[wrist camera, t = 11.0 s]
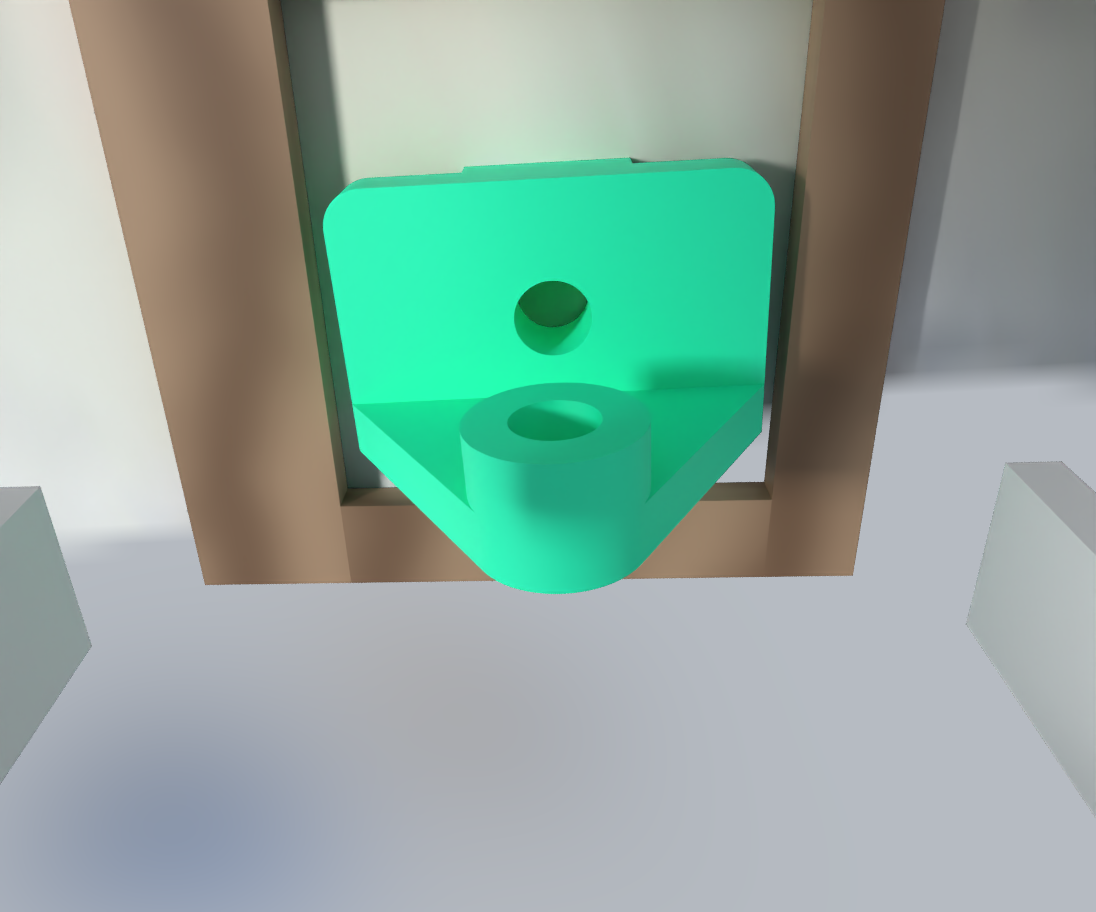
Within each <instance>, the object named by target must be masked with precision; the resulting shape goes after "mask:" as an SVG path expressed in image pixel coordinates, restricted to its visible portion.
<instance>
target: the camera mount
mask: <svg viewBox="0 0 1096 912" xmlns="http://www.w3.org/2000/svg"><path fill="white" fill-rule="evenodd" d="M774 216H775V199H774V195H773V192H772V190H771V187H770V186H769V184H768V183H767V181H766V180H765V179H764V178H763V177H762V176H761V175H760V174H758V173H757V172H756V171H755V170H754V169H753V168H752V167H750V166H749V165H748V164H746V163H745V162H743V161H740V160H738V159H733V158H717V159H699V160H681V161H663V162H645V163H632V161H631V159H630V158H614V159H596V160H578V161H560V162H542V163H524V164H506V165H488V166H470V167H464V169H463V171H462V173H447V174H429V175H411V176H393V177H375V178H364V179H360V180H357V181H355V182H353V183H351V184H349V185H348V186H347V187H346V188H345V189H344V190H343V191H342V192H341V193H340V194H339V195H338V196H337V197H336V198H335V199H334V200H333V201H332V202H331V203H330V204H329V206H328V208H327V210H326V212H325V215H324V219H323V233H324V239H325V245H326V251H327V257H328V263H329V268H330V274H331V280H332V286H333V292H334V298H335V304H336V310H337V316H338V322H339V328H340V334H341V340H342V346H343V352H344V358H345V364H346V370H347V376H348V382H349V388H350V394H351V400H352V406H353V412H354V418H355V424H356V430H357V436H358V442H359V448H360V451H361V452H362V453H363V454H364V455H365V456H366V457H367V458H368V459H369V460H370V461H371V462H372V463H373V464H374V465H375V466H376V467H377V468H378V469H379V470H380V471H381V472H382V473H383V474H384V475H385V476H386V477H387V478H388V479H389V480H390V481H391V482H392V483H394V484H395V485H396V486H397V487H398V488H399V489H400V490H401V491H402V492H403V493H404V494H405V495H406V496H407V497H408V498H409V499H410V500H411V501H412V502H413V503H414V504H415V505H416V506H417V507H418V508H419V509H420V510H421V511H422V512H423V513H424V514H425V515H426V516H427V517H428V518H429V519H430V520H431V521H432V522H433V523H434V524H435V525H437V526H438V527H439V528H440V529H441V530H442V531H443V532H444V533H445V534H446V535H447V536H448V537H449V538H450V539H451V540H452V541H453V542H454V543H455V544H456V545H457V546H458V547H459V548H460V549H461V550H462V551H463V552H464V553H465V554H466V555H467V556H468V557H469V558H470V559H471V560H472V561H473V562H474V563H475V564H476V565H477V566H478V567H480V568H481V569H482V570H483V571H484V572H485V573H486V574H487V575H488V576H490V577H491V578H493V579H495V580H496V581H498V582H500V583H502V584H504V585H507V586H510V587H512V588H516V589H520V590H524V591H529V592H535V593H545V594H566V593H577V592H583V591H589V590H593V589H597V588H601V587H604V586H607V585H609V584H612V583H614V582H616V581H619V580H621V579H623V578H624V577H626V576H628V575H629V574H631V573H632V572H634V571H635V570H636V569H637V568H638V567H639V566H640V565H641V564H642V563H643V562H644V561H645V560H646V559H647V558H648V557H649V556H650V554H651V553H652V552H653V551H654V550H655V549H656V548H657V547H658V546H659V544H660V543H661V542H662V541H663V540H664V539H665V538H666V537H667V536H668V535H669V533H670V532H671V531H672V530H673V529H674V528H675V527H676V526H677V525H678V523H679V522H680V521H681V520H682V519H683V518H684V517H685V516H686V515H687V514H688V512H689V511H690V510H691V509H692V508H693V507H694V506H695V505H696V504H697V502H698V501H699V500H700V499H701V498H702V497H703V496H704V495H705V494H706V493H707V491H708V490H709V489H710V488H711V487H712V486H713V485H714V484H715V483H716V481H717V480H718V479H719V478H720V477H721V476H722V475H723V474H724V473H725V472H726V470H727V469H728V468H729V467H730V466H731V465H732V464H733V463H734V461H735V460H736V459H737V458H738V457H739V456H740V455H741V454H742V453H743V452H744V451H745V449H746V448H747V447H748V446H749V445H750V444H751V443H752V442H753V441H754V439H755V438H756V437H757V436H758V435H759V434H760V433H761V432H762V416H763V400H764V383H765V366H766V349H767V333H768V316H769V299H770V283H771V266H772V249H773V232H774ZM545 281H561V282H565V283H568V284H570V285H572V286H574V287H575V288H577V289H578V290H579V291H581V293H582V294H583V295H584V296H585V297H586V299H587V304H586V307H585V309H584V310H583V312H582V313H581V314H580V316H579V317H578V318H576V319H575V320H574V321H572V322H571V323H569V324H566V325H564V326H560V327H546V326H542V325H539V324H537V323H535V322H533V321H532V320H530V319H529V318H528V317H527V316H526V315H525V314H524V312H523V311H522V309H521V308H520V305H519V303H518V301H519V299H520V297H521V296H522V295H523V294H524V293H525V292H526V291H527V290H528V289H529V288H531V287H532V286H534V285H536V284H538V283H541V282H545Z"/></svg>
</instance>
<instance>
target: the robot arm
mask: <svg viewBox="0 0 1096 912" xmlns="http://www.w3.org/2000/svg"><path fill="white" fill-rule="evenodd" d="M966 625H967V626H968V628H969V630H970V631H971V633H972V634H973V635H974V637H975V638H976V640H977V641H978V643H979V644H980V646H981V647H982V649H983V650H984V652H985V653H986V655H987V656H988V658H989V659H990V661H991V662H992V664H993V665H994V667H995V668H996V670H997V671H998V673H999V674H1000V676H1001V677H1002V679H1003V680H1004V682H1005V683H1006V685H1007V686H1008V688H1009V689H1010V691H1011V692H1012V694H1013V695H1014V697H1015V698H1016V700H1017V701H1018V703H1019V704H1020V706H1021V707H1022V709H1023V710H1024V712H1025V713H1026V715H1027V716H1028V718H1029V719H1030V721H1031V722H1032V724H1033V725H1034V727H1035V728H1036V730H1037V731H1038V733H1039V734H1040V736H1041V737H1042V739H1043V740H1044V742H1045V743H1046V745H1047V746H1048V748H1049V749H1050V750H1051V752H1052V753H1053V755H1054V756H1055V757H1056V759H1057V761H1058V762H1059V764H1060V765H1061V767H1062V768H1063V770H1064V771H1065V773H1066V774H1067V776H1068V777H1069V779H1070V780H1071V782H1072V783H1073V785H1074V786H1075V788H1076V789H1077V791H1078V792H1079V794H1080V795H1081V797H1082V798H1083V800H1084V801H1085V803H1086V804H1087V806H1088V807H1089V809H1090V810H1091V812H1092V813H1093V815H1094V816H1095V818H1096V492H1094V491H1093V490H1092V489H1091V488H1090V487H1089V486H1088V485H1087V484H1086V483H1084V481H1082V480H1081V479H1080V478H1079V477H1078V476H1077V475H1076V474H1075V473H1074V472H1073V471H1072V470H1070V469H1069V468H1068V467H1067V466H1066V465H1065V464H1064V463H1063V462H1024V463H1023V462H1021V463H1006V464H1005V467H1004V472H1003V475H1002V480H1001V484H1000V488H999V492H998V496H997V500H996V504H995V508H994V512H993V516H992V521H991V524H990V528H989V533H988V537H987V541H986V545H985V549H984V553H983V558H982V561H981V566H980V569H979V573H978V578H977V582H976V586H975V590H974V594H973V598H972V602H971V606H970V610H969V614H968V619H967V623H966ZM91 647H92V645H91V642H90V639H89V636H88V632H87V629H86V626H85V623H84V620H83V617H82V614H81V611H80V608H79V605H78V602H77V598H76V595H75V592H74V589H73V586H72V583H71V580H70V577H69V574H68V571H67V568H66V564H65V561H64V558H63V555H62V552H61V549H60V546H59V543H58V540H57V537H56V534H55V530H54V527H53V524H52V521H51V518H50V515H49V512H48V509H47V506H46V503H45V500H44V496H43V493H42V490H41V487H40V486H32V487H0V784H1V783H2V781H3V780H4V778H5V777H6V775H7V774H8V772H9V770H10V769H11V768H12V766H13V765H14V763H15V762H16V760H17V759H18V757H19V756H20V754H21V752H22V751H23V749H24V748H25V747H26V745H27V744H28V742H29V741H30V739H31V737H32V736H33V734H34V733H35V731H36V730H37V728H38V727H39V725H40V724H41V722H42V721H43V719H44V718H45V716H46V715H47V713H48V712H49V710H50V709H51V707H52V705H53V704H54V703H55V701H56V700H57V698H58V697H59V695H60V694H61V692H62V691H63V689H64V688H65V686H66V684H67V683H68V682H69V680H70V679H71V677H72V675H73V674H74V672H75V671H76V669H77V668H78V666H79V665H80V663H81V662H82V660H83V659H84V657H85V656H86V654H87V653H88V651H89V650H90V648H91Z"/></svg>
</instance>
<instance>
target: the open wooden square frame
mask: <svg viewBox="0 0 1096 912" xmlns="http://www.w3.org/2000/svg"><path fill="white" fill-rule="evenodd" d="M69 4H70V8H71V13H72V17H73V21H74V25H75V30H76V34H77V38H78V43H79V47H80V51H81V55H82V60H83V64H84V68H85V73H86V77H87V81H88V85H89V90H90V94H91V98H92V103H93V107H94V111H95V115H96V120H97V124H98V128H99V132H100V137H101V141H102V145H103V150H104V154H105V158H106V162H107V167H108V171H109V175H110V180H111V184H112V188H113V192H114V197H115V201H116V205H117V210H118V214H119V218H120V222H121V227H122V231H123V235H124V240H125V244H126V248H127V252H128V257H129V261H130V265H131V270H132V274H133V278H134V282H135V287H136V291H137V295H138V300H139V304H140V308H141V312H142V317H143V321H144V325H145V330H146V334H147V338H148V342H149V347H150V351H151V355H152V360H153V364H154V368H155V372H156V377H157V381H158V385H159V390H160V394H161V398H162V402H163V407H164V411H165V415H166V419H167V424H168V428H169V432H170V437H171V441H172V445H173V449H174V454H175V458H176V462H177V467H178V471H179V475H180V479H181V484H182V488H183V492H184V497H185V501H186V505H187V509H188V514H189V518H190V522H191V527H192V531H193V535H194V539H195V544H196V548H197V552H198V557H199V561H200V565H201V569H202V574H203V578H204V582H205V585H225V584H297V583H363V582H364V583H367V582H435V581H496V580H495V579H493V578H491V577H490V576H488V575H487V574H486V573H485V572H484V571H483V570H482V569H481V568H480V567H478V566H477V565H476V564H475V563H474V562H473V561H472V560H471V559H470V558H469V557H468V556H467V555H466V554H465V553H464V552H463V551H462V550H461V549H460V548H459V547H458V546H457V545H456V544H455V543H454V542H453V541H452V540H451V539H450V538H449V537H448V536H447V535H446V534H445V533H444V532H443V531H442V530H441V529H440V528H439V527H438V526H437V525H435V524H434V523H433V522H432V521H431V520H430V519H429V518H428V517H427V516H426V515H425V514H424V513H423V512H422V511H421V510H420V509H419V508H418V507H417V506H416V505H415V504H414V503H413V502H412V501H411V500H410V499H409V498H408V497H407V496H406V495H405V494H404V493H403V492H402V491H401V490H400V489H399V488H350V489H348V487H347V480H346V473H345V465H344V458H343V451H342V444H341V436H340V429H339V422H338V415H337V408H336V400H335V393H334V386H333V379H332V371H331V364H330V357H329V350H328V342H327V335H326V328H325V321H324V314H323V306H322V299H321V292H320V285H319V277H318V270H317V263H316V256H315V248H314V241H313V234H312V227H311V220H310V212H309V205H308V198H307V191H306V183H305V176H304V169H303V162H302V154H301V147H300V140H299V133H298V126H297V118H296V111H295V104H294V97H293V89H292V82H291V75H290V68H289V60H288V53H287V46H286V39H285V32H284V24H283V17H282V10H281V3H280V0H69ZM944 5H945V0H813V6H812V16H811V26H810V36H809V45H808V55H807V65H806V75H805V85H804V95H803V105H802V115H801V124H800V134H799V144H798V154H797V164H796V174H795V184H794V193H793V203H792V213H791V223H790V233H789V243H788V253H787V262H786V272H785V282H784V292H783V302H782V312H781V322H780V331H779V341H778V351H777V361H776V371H775V381H774V391H773V400H772V410H771V420H770V430H769V440H768V450H767V460H766V470H765V480H764V482H736V483H735V482H733V483H715V484H714V485H713V486H712V487H711V488H710V489H709V490H708V491H707V493H706V494H705V495H704V496H703V497H702V498H701V499H700V500H699V501H698V502H697V504H696V505H695V506H694V507H693V508H692V509H691V510H690V511H689V512H688V514H687V515H686V516H685V517H684V518H683V519H682V520H681V521H680V522H679V523H678V525H677V526H676V527H675V528H674V529H673V530H672V531H671V532H670V533H669V535H668V536H667V537H666V538H665V539H664V540H663V541H662V542H661V543H660V544H659V546H658V547H657V548H656V549H655V550H654V551H653V552H652V553H651V554H650V556H649V557H648V558H647V559H646V560H645V561H644V562H643V563H642V564H641V565H640V566H639V567H638V568H637V569H636V570H635V571H634V572H632V573H631V574H629V575H628V576H626V577H624V578H623V579H641V578H642V579H644V578H712V577H713V578H714V577H774V576H775V577H781V576H851V575H853V571H854V564H855V558H856V552H857V546H858V540H859V533H860V527H861V521H862V515H863V509H864V502H865V496H866V490H867V484H868V477H869V471H870V465H871V459H872V453H873V446H874V440H875V434H876V428H877V422H878V415H879V409H880V403H881V397H882V390H883V384H884V378H885V372H886V366H887V359H888V353H889V347H890V341H891V335H892V328H893V322H894V316H895V310H896V303H897V297H898V291H899V285H900V279H901V272H902V266H903V260H904V254H905V248H906V241H907V235H908V229H909V223H910V216H911V210H912V204H913V198H914V192H915V185H916V179H917V173H918V167H919V160H920V154H921V148H922V142H923V136H924V129H925V123H926V117H927V111H928V105H929V98H930V92H931V86H932V80H933V73H934V67H935V61H936V55H937V49H938V42H939V36H940V30H941V24H942V18H943V11H944Z"/></svg>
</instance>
